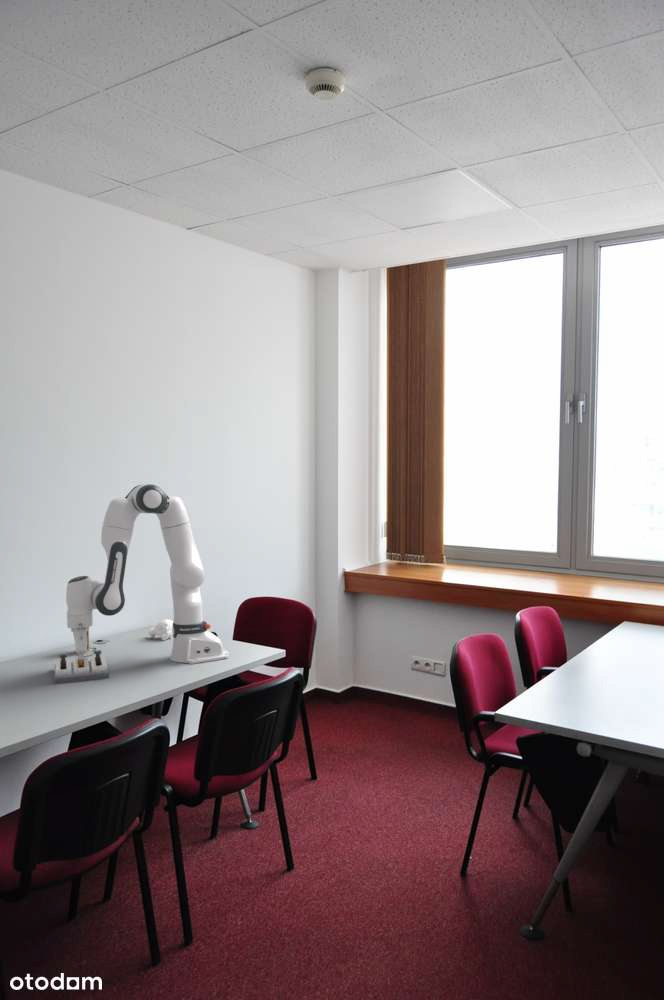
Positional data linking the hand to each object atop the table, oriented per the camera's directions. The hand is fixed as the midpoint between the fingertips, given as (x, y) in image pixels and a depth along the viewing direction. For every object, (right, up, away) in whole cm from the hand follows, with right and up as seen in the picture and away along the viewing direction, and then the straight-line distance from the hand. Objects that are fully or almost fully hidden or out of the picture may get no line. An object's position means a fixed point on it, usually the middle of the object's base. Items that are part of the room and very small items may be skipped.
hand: (81, 658), depth 269 cm
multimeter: (-6, -4, +29) cm, 30 cm away
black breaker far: (-6, -3, 0) cm, 7 cm away
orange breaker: (-1, -3, +2) cm, 4 cm away
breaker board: (0, -5, -1) cm, 5 cm away
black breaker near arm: (+5, -3, +4) cm, 7 cm away
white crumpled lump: (+17, -3, +51) cm, 54 cm away
